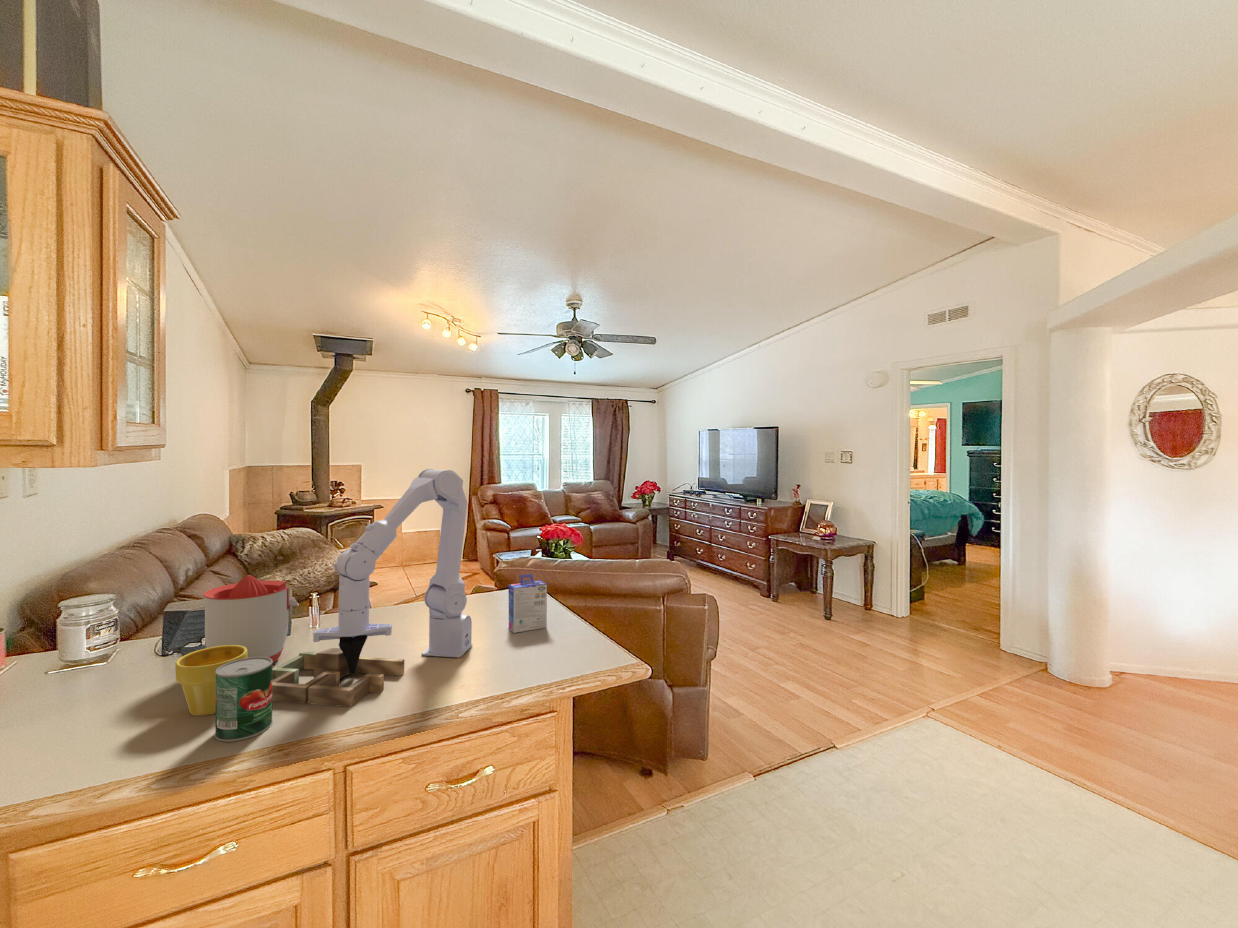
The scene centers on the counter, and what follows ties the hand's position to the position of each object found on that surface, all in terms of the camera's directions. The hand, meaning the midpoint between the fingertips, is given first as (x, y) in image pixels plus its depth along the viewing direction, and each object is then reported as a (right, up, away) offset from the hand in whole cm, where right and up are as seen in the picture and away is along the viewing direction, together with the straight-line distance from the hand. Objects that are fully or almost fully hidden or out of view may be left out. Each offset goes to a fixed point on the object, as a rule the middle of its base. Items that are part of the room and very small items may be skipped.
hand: (353, 671), depth 106 cm
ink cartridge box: (+31, -2, +33) cm, 45 cm away
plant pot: (-19, -2, -13) cm, 23 cm away
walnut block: (-5, -1, 0) cm, 5 cm away
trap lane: (-3, -1, -3) cm, 5 cm away
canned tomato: (-8, -2, -20) cm, 22 cm away
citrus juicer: (-26, -1, +7) cm, 27 cm away
